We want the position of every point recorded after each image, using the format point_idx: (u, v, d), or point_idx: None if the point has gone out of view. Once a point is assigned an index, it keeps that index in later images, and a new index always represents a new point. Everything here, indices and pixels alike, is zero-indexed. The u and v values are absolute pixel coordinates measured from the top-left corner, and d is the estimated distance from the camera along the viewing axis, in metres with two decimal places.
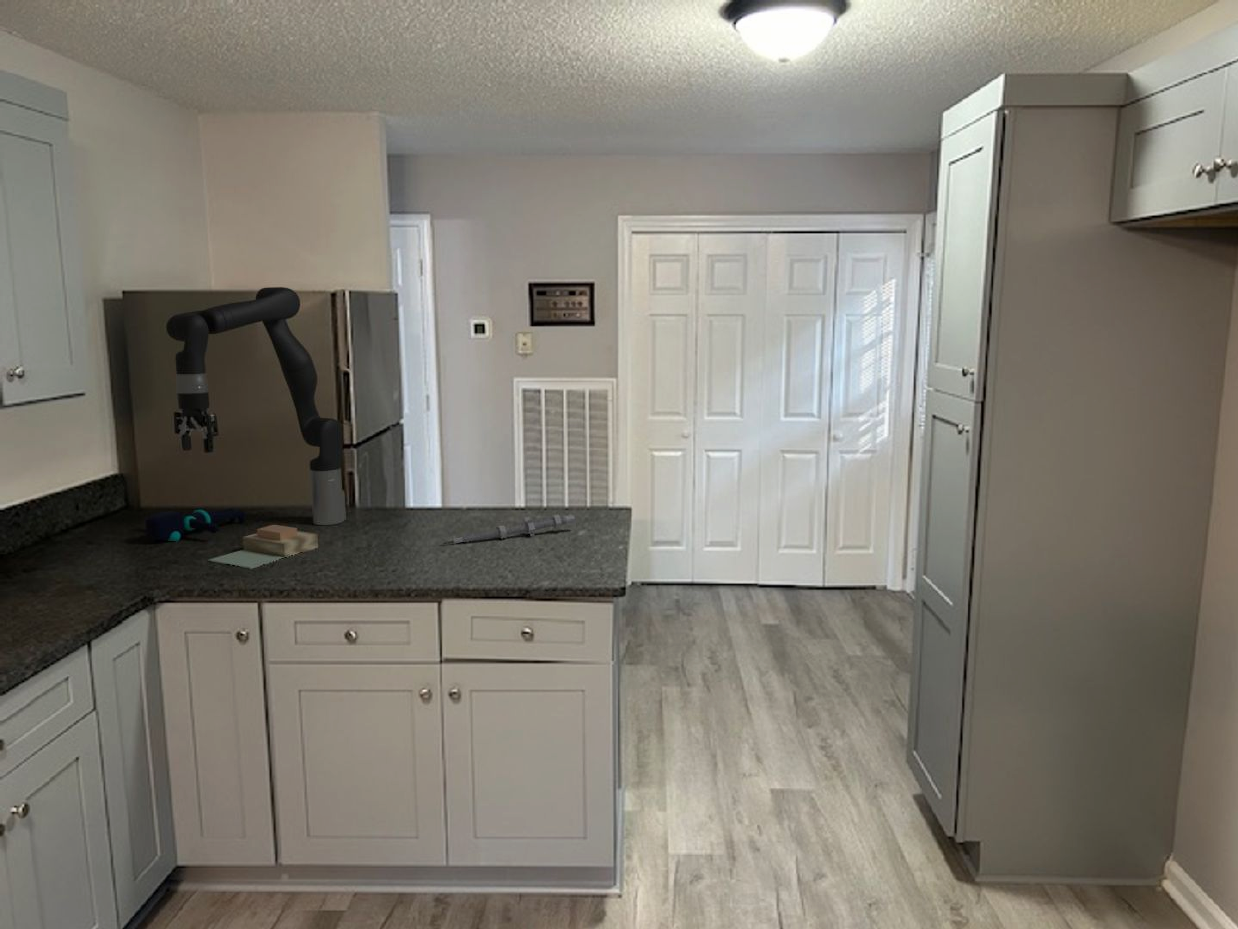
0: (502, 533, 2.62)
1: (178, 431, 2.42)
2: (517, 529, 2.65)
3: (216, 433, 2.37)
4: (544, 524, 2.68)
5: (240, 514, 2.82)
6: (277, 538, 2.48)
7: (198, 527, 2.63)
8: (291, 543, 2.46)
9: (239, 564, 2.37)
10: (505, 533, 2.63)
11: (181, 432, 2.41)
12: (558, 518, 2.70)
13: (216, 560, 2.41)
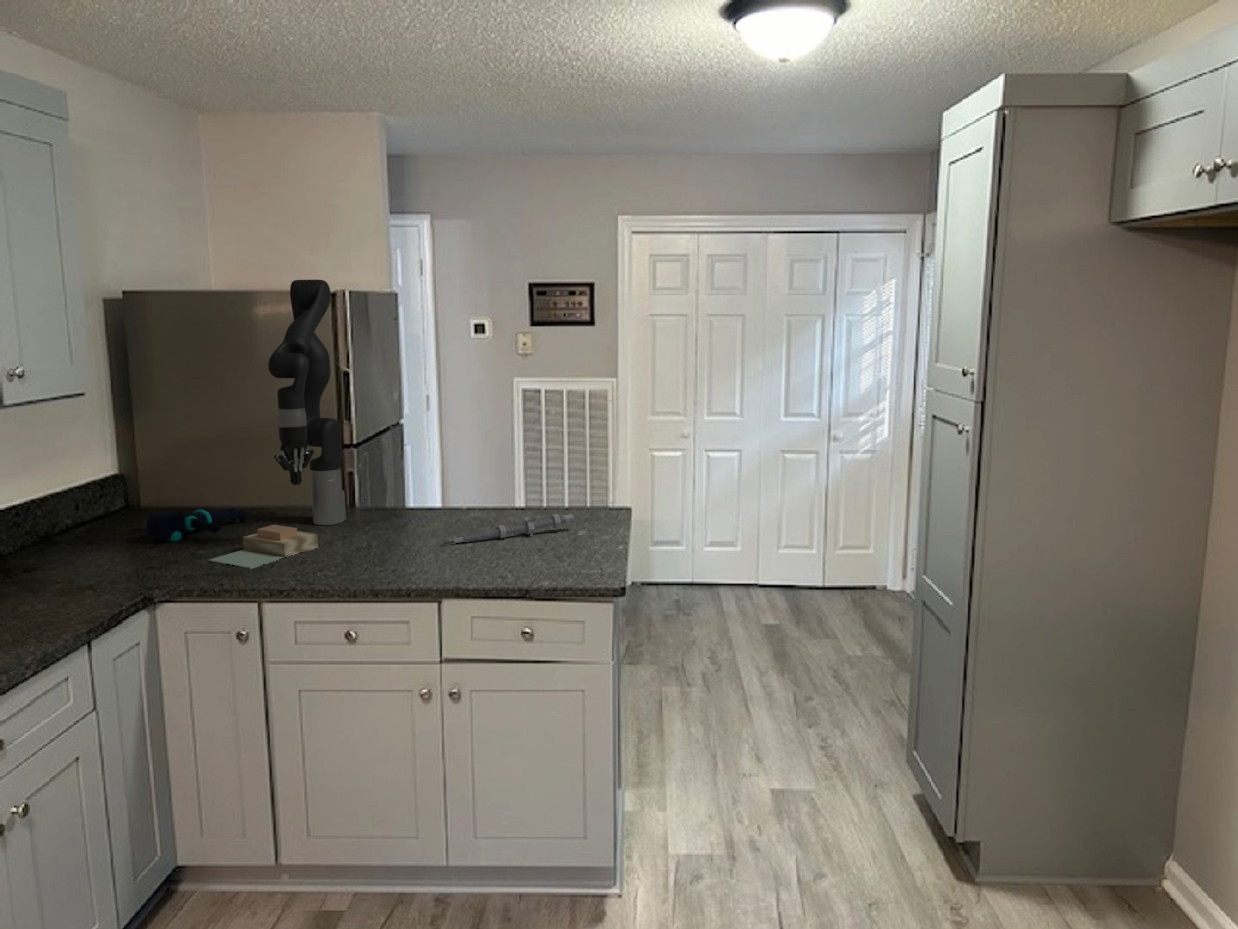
0: (502, 533, 2.62)
1: None
2: (517, 529, 2.65)
3: None
4: (544, 523, 2.69)
5: (241, 514, 2.83)
6: (277, 538, 2.48)
7: (199, 527, 2.64)
8: (291, 543, 2.46)
9: (239, 564, 2.37)
10: (505, 533, 2.63)
11: (295, 468, 2.54)
12: (557, 517, 2.70)
13: (216, 560, 2.41)
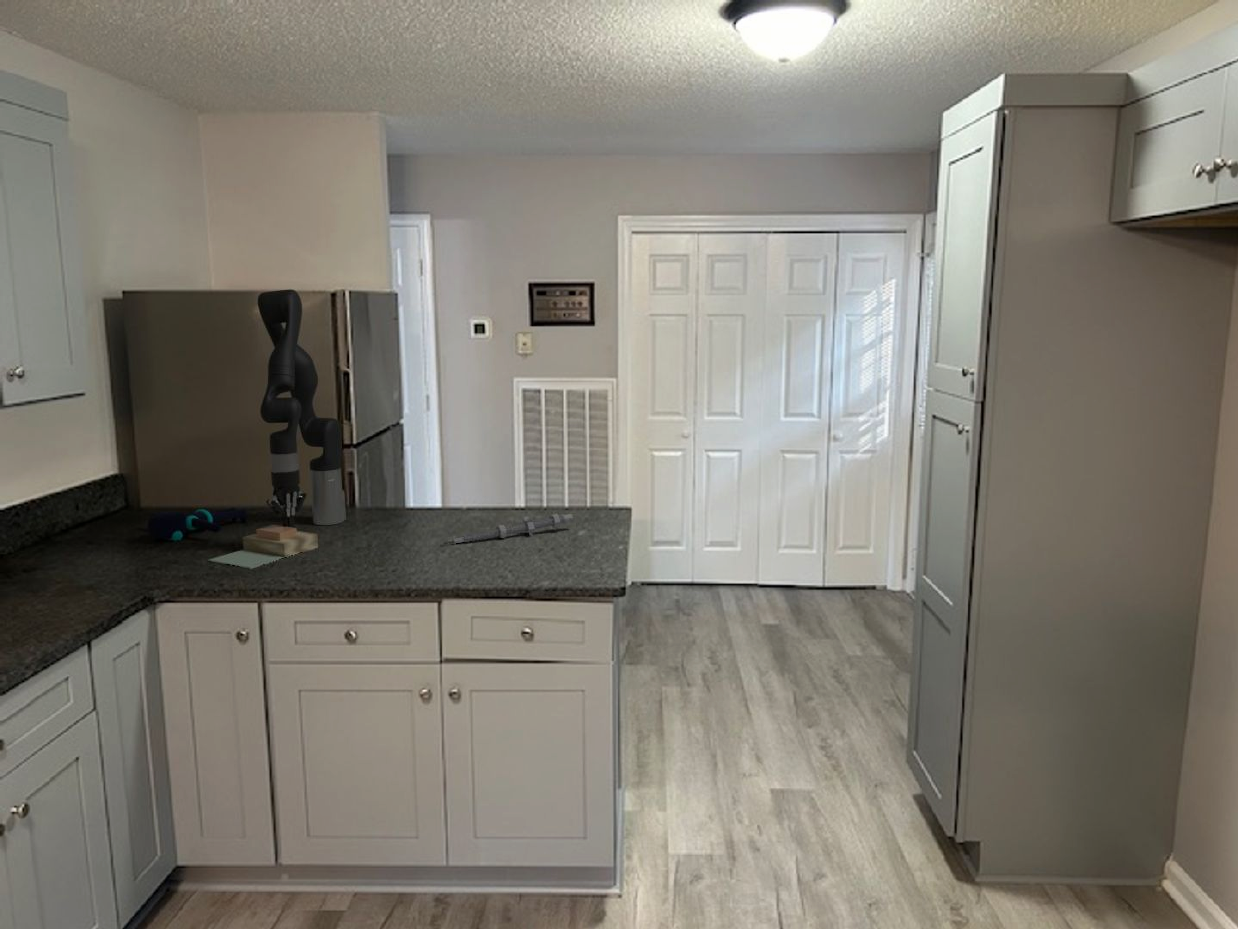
0: (502, 533, 2.63)
1: None
2: (517, 528, 2.66)
3: None
4: (543, 523, 2.69)
5: (242, 513, 2.83)
6: (276, 538, 2.48)
7: (200, 526, 2.64)
8: (291, 543, 2.46)
9: (239, 564, 2.37)
10: (505, 533, 2.63)
11: (288, 512, 2.53)
12: (557, 517, 2.71)
13: (216, 560, 2.41)
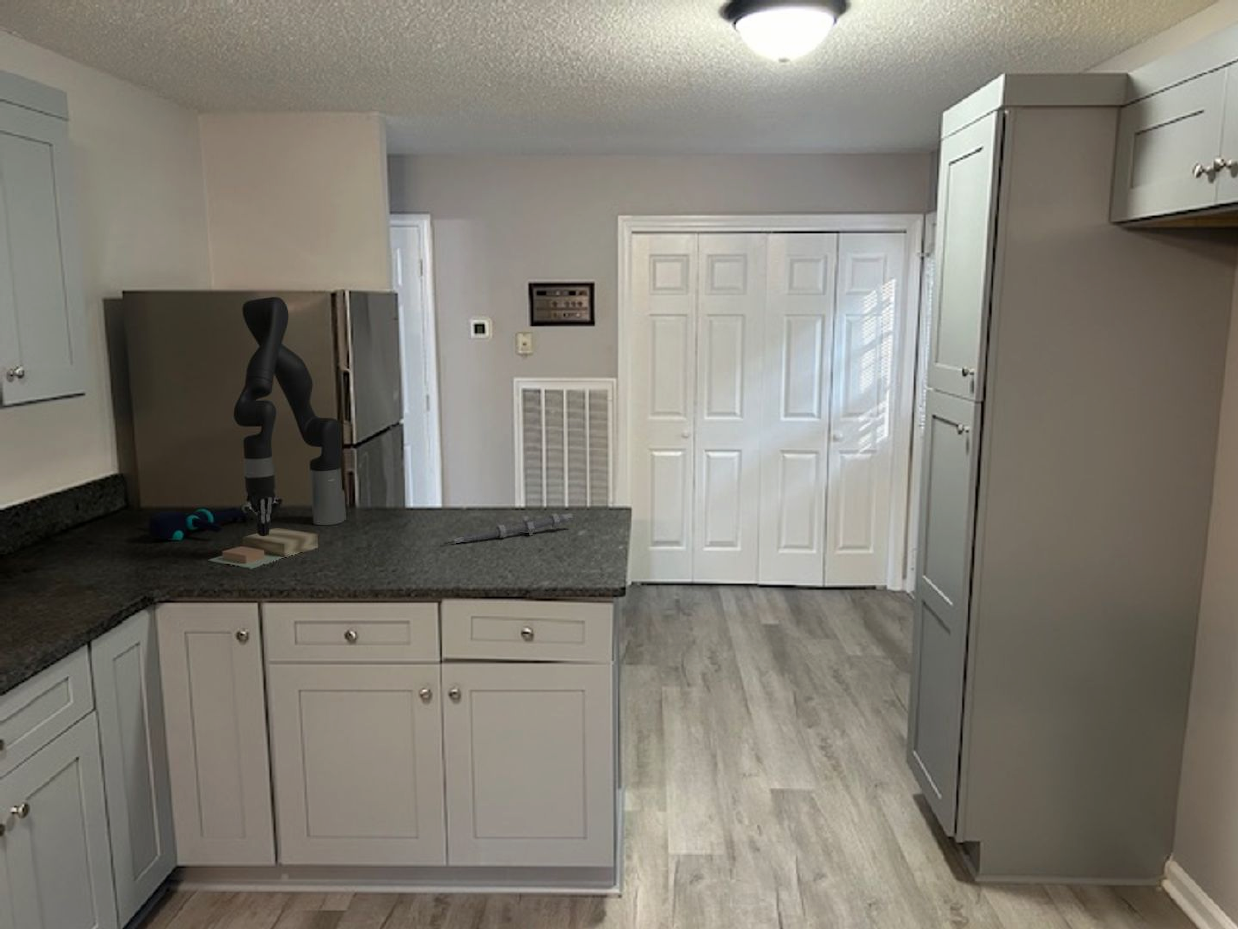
0: (502, 532, 2.63)
1: None
2: (516, 528, 2.66)
3: None
4: (543, 523, 2.70)
5: (243, 513, 2.83)
6: None
7: (201, 526, 2.64)
8: (291, 543, 2.46)
9: (239, 564, 2.37)
10: (505, 532, 2.63)
11: (262, 518, 2.45)
12: (556, 517, 2.71)
13: (216, 560, 2.41)
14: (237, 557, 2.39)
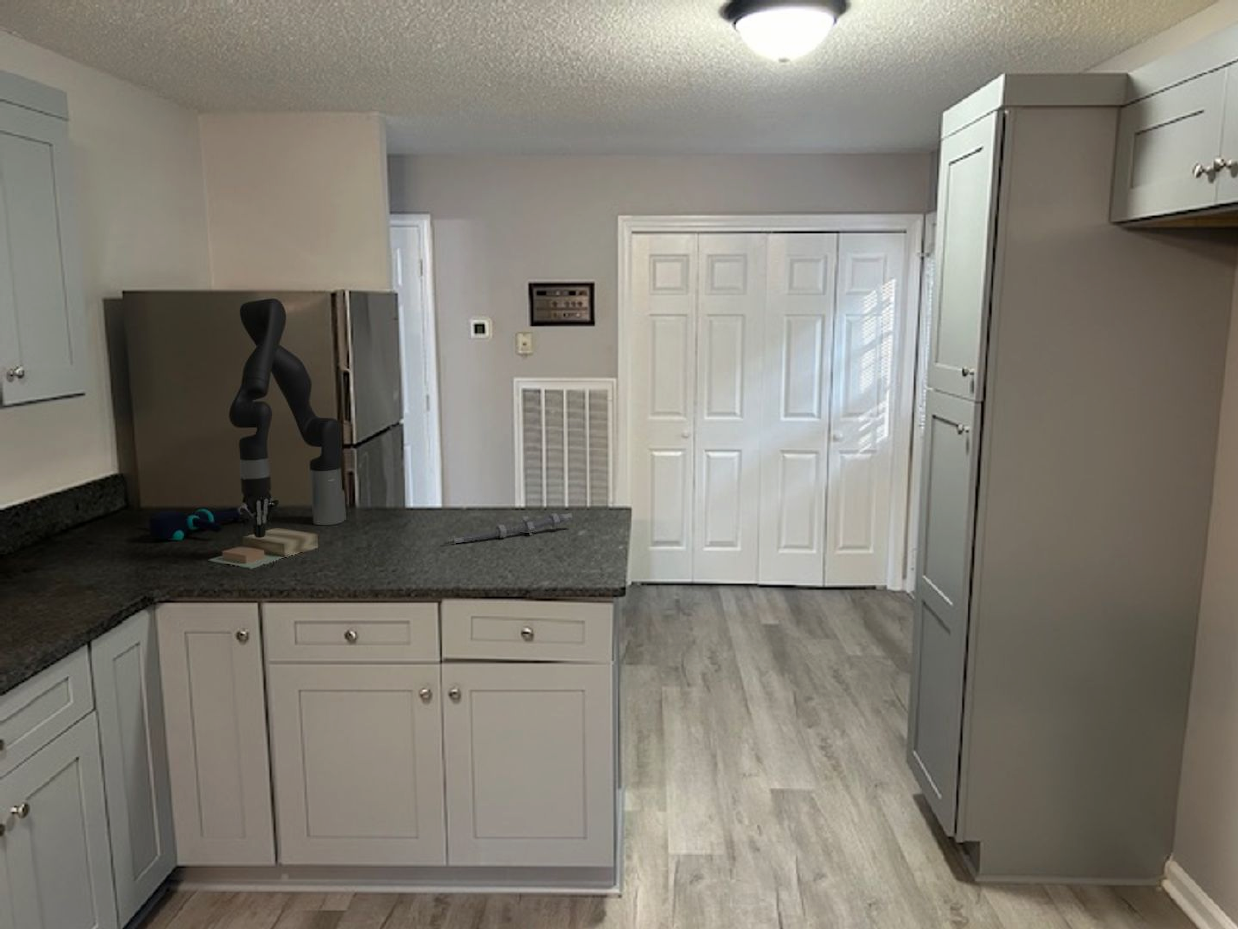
0: (502, 532, 2.63)
1: None
2: (516, 528, 2.66)
3: None
4: (543, 523, 2.70)
5: None
6: None
7: (201, 526, 2.65)
8: (291, 543, 2.46)
9: (239, 564, 2.37)
10: (505, 532, 2.63)
11: (258, 520, 2.44)
12: (556, 517, 2.71)
13: (216, 560, 2.41)
14: (237, 557, 2.39)
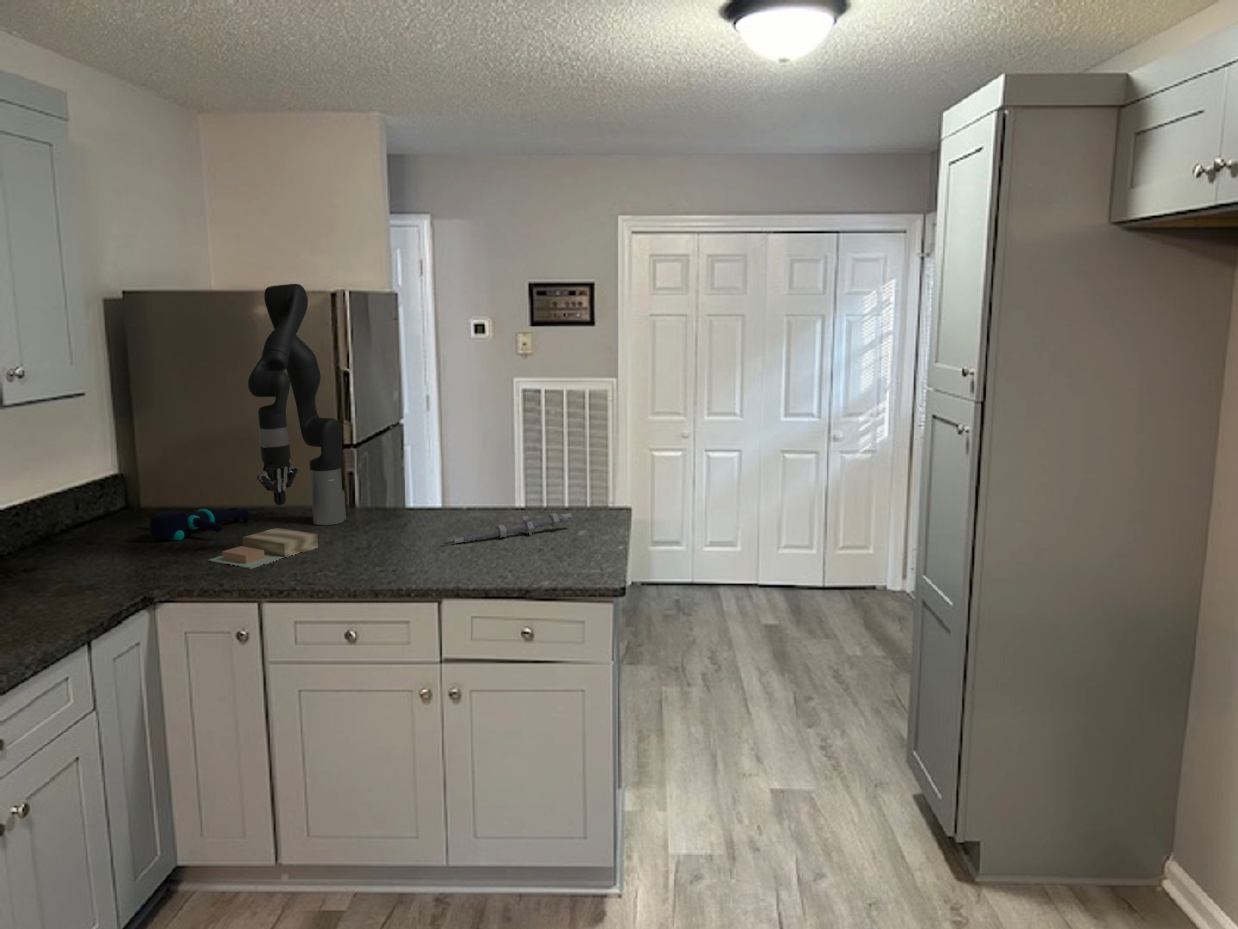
0: (502, 532, 2.63)
1: None
2: (516, 528, 2.66)
3: None
4: (542, 523, 2.70)
5: (244, 513, 2.84)
6: None
7: (202, 526, 2.65)
8: (291, 543, 2.46)
9: (239, 564, 2.37)
10: (505, 532, 2.63)
11: (279, 488, 2.49)
12: (556, 516, 2.72)
13: (216, 560, 2.41)
14: (237, 557, 2.39)
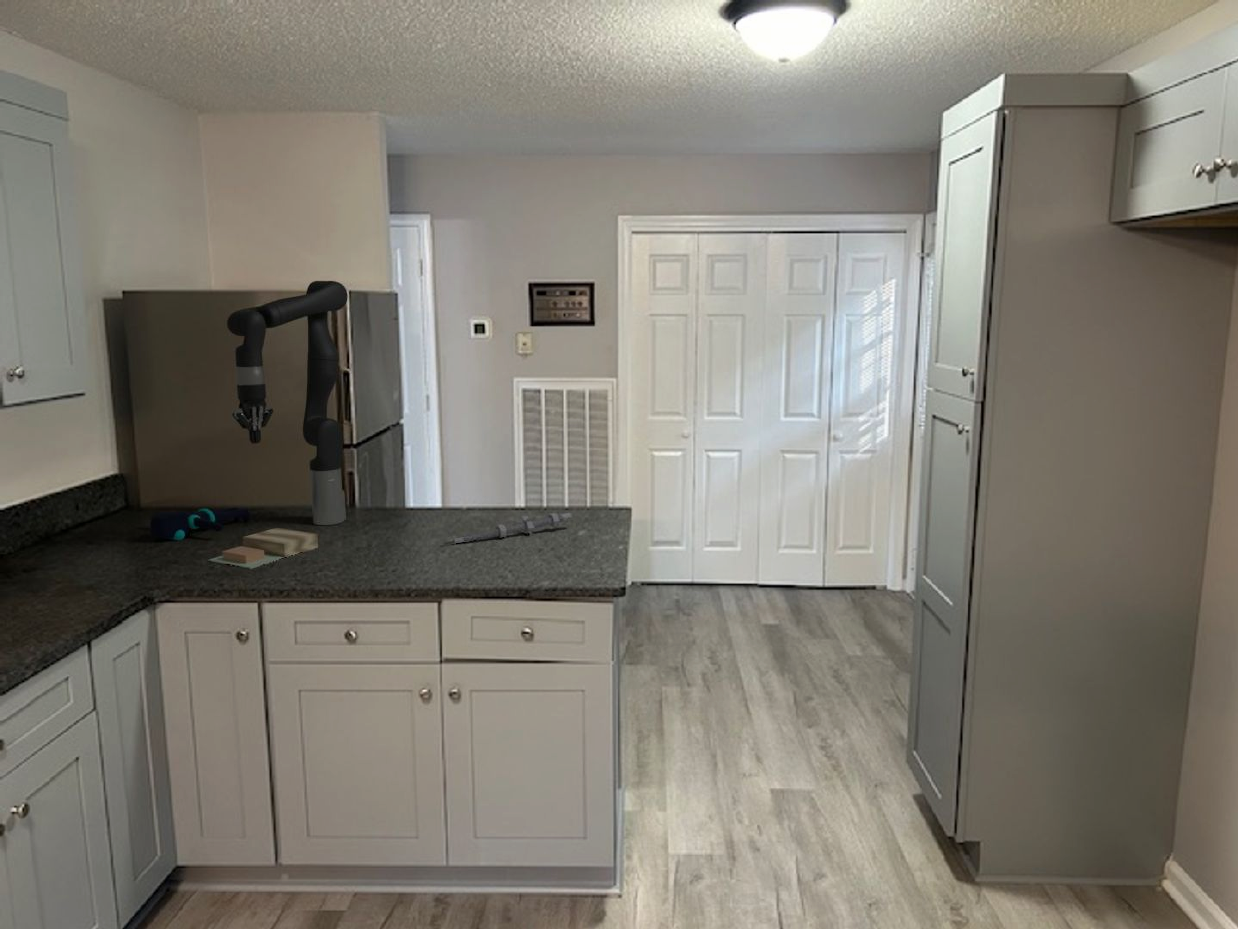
0: (502, 532, 2.63)
1: None
2: (516, 528, 2.66)
3: None
4: (542, 522, 2.70)
5: (244, 513, 2.84)
6: None
7: (202, 526, 2.65)
8: (291, 543, 2.46)
9: (239, 564, 2.37)
10: (505, 532, 2.64)
11: (254, 426, 2.55)
12: (556, 516, 2.72)
13: (216, 560, 2.41)
14: (237, 557, 2.39)
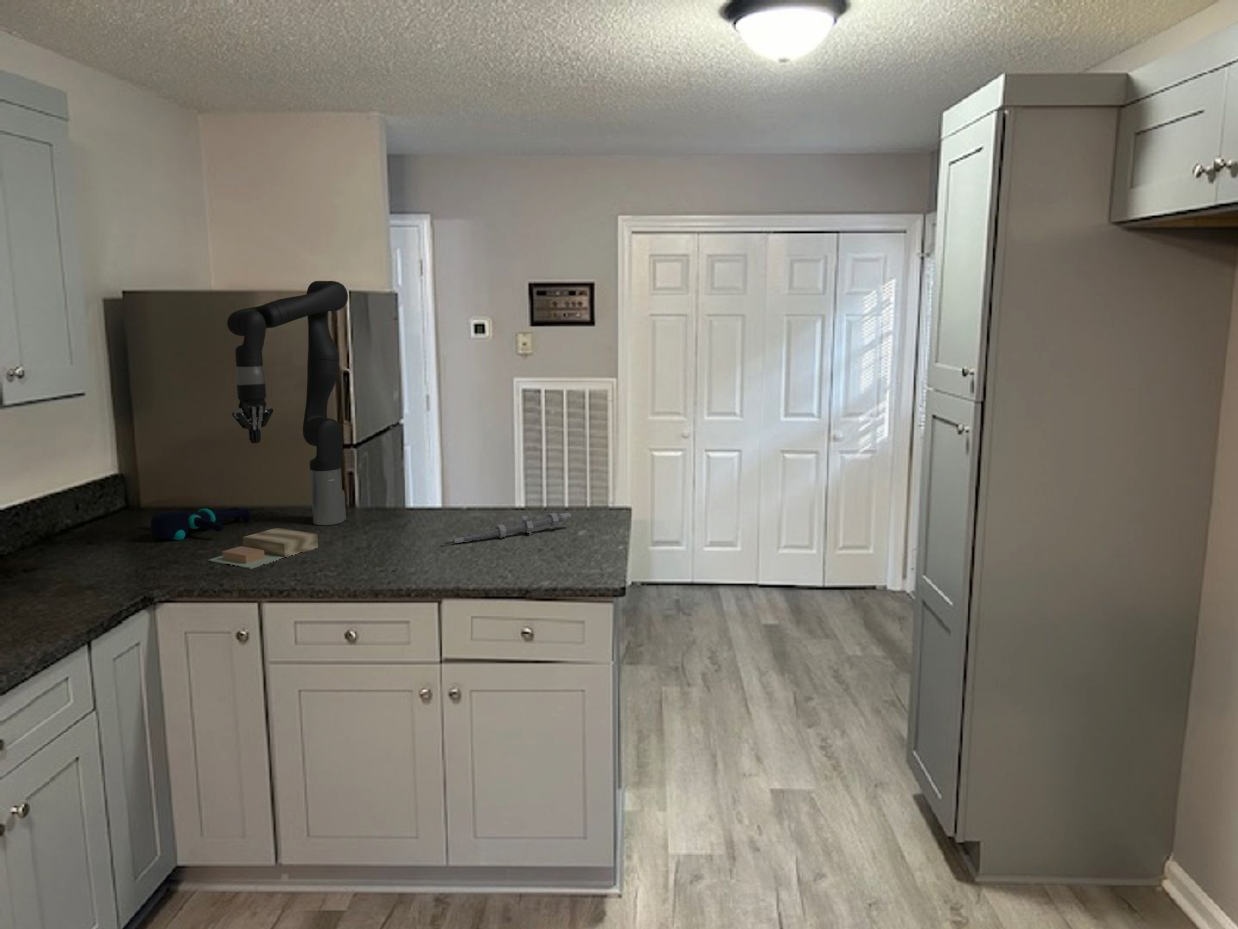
0: (502, 532, 2.63)
1: None
2: (516, 528, 2.67)
3: None
4: (542, 522, 2.71)
5: (245, 513, 2.84)
6: None
7: (203, 526, 2.65)
8: (291, 543, 2.46)
9: (239, 564, 2.37)
10: (505, 532, 2.64)
11: (254, 426, 2.55)
12: (555, 516, 2.72)
13: (216, 560, 2.41)
14: (237, 557, 2.39)
